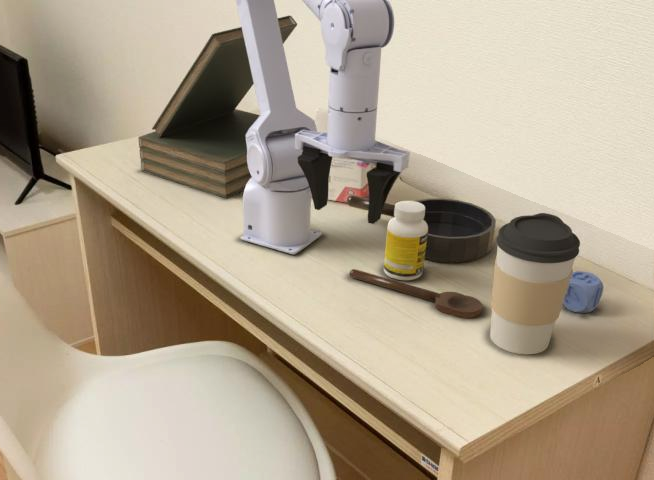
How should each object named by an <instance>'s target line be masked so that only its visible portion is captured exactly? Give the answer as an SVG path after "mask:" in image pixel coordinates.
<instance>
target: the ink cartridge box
mask: <svg viewBox="0 0 654 480" xmlns="http://www.w3.org/2000/svg"><path fill="white" fill-rule="evenodd" d="M315 125H316V129H317V132H326V133H327V131H328V109H324V108H317V109H316V110H315ZM371 169H372V164H371V163H366V162H362V161H357V160H353V159H348V158H335V157H332V162H331V167H330V173H329V185H328V201H333V202H340V203H346V204H347V198H348V197H349V196H350V195H356V196H360V197H364V198H369V187H368V180H367V172H368V171H370V170H371Z"/></svg>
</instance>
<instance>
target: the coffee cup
mask: <svg viewBox="0 0 654 480" xmlns="http://www.w3.org/2000/svg"><path fill="white" fill-rule="evenodd" d="M495 243H496V245H497V249H496V257H495V259H494V269H493V280H492V282H493V283H492V293H491V304H490V305H491V306H490V307H491V320H490V329H489V338H490V340H491V341H492V343H493V344H494V345H495V346H497V347H498V348H500V349H502V350H504V351H506V352H509V353H512V354H518V355H537V354H540V353H542V352H544V351H546V350H547V349H548V347H549V345H550V341H551V338H552V335H553V331H554V329H555V326H556V321H558V319H559V317H560V314H561V310H562V308H563V301H564V298H565V295H566V291H567V288H568V285H569V282H570V279H571V275H572V272H574V271H573V266H574V264H575V260H576V257H577V256H578V255H579V253H580V247H581V240H580V239H579V237H578V236H577V235H576V234H575V233H574V232H573V230H572V227H570V226H569V225H568V224H566V223H565V222H564V221H563V220H562V219H561V218H560V217H559V216H558V215H555V214H551V213H546V212H541V213H536V214H531V215H519V216H516V217H514V218H512V219H511V220H510V221H509V222H507V223H505V224H504V225H502V226H501V227H500V228H499V229H498V232H497V236H496V238H495Z"/></svg>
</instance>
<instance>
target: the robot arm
mask: <svg viewBox="0 0 654 480" xmlns="http://www.w3.org/2000/svg"><path fill="white" fill-rule="evenodd" d="M235 3H236V7H237V12H238V16H239V22H240V27H242V31H243V36H244V41H245V45H246V50H247V55H248V59H249V64H250V69H251V73H252V78H253V83H254V84H253V87H254V91H255V92H254V93H255V96H256V101H257V105H258V111H259V115H260V116H259V118H258V119H257V120H256V121H255V122H254V123H253V125H252V126H251V127H250V128H249V130H248V132H247V133H246V144H247V164H248V168H249V172H250V174H251V176H252V177H251V178H250V180H249V181H248V182H247V184H246V186H245V189H244V190H243V195H242V225H243V226H242V227H243V231H242V232H243V234H241V235H240V240H242V241H245V242H249V243H251V244H254V245H255V244H256V245H258V246H262V247H266V248H269V249H272V250H277V251H279V252H283V253H285V254H290V255H296V254H298V253H300V252H301V251H302V250H303V249H305V248H306V247H307V246H309V245H310V244H312V243H313V242H314V241H316V240H317V239H318V238H321V236H322V232H321V231H318V230H315V229H311V215H312V214H311V211H312V209H311V208H312V202H313V208H314V210H315V211H316V210H317V211H321V210H322V209H323V208H325V207H326V206H327V205H328V201H329V200H328V185H329V173H330V167H331V162H332V157H335V158H348V159H353V160H357V161H362V162H366V163H371V165H375V167H373V168H371V170H370V171H368V172H367V180H368V187H369V196H368V199H369V208H368V211H367V222H368V223H367V224H370V225H375V224H376V223H377V222H378V221H380V220H381V218H382V215H383V214H382V210H383V207H384V204H385V203H386V201H387V199H388V196H389V194H390V192H391V191H392V188H393V186H394V184H395V183H396V182H397V179H398V178H399V176H400V174H401V173H402V172H404V171H406V170H407V169H408V168H409V161H410V151H406V150H403V149H399V148H396V147H394V146H392V145H389V144H386V143H384V142H381V141H378V140H376V133H377V117H378V104H379V91H380V90H379V89H380V77H381V76H380V75H381V60H382V48H385V47H386V46H387V45H389V43H390V42H391V40H392V37H393V35H394V30H395V16H394V15H395V14H394V10H393V7H392V5H391V2H390V0H302V3H304V4H305V5H306V7H307V8H308V9H309V10H310V11H311V13H312V14H313V15H314V16H315V17H316V18H317V19H318V21H319V22H320V31H321V36H322V40H323V43H324V50H325V53H324V54H325V57H324V58H325V61H326V65H327V66H328V67H329V78H328V79H329V82H328V104H327V105H328V107H327V110H328V131H327V133H326V132H317V129H316V120H315V119H313V118H312V117H311V116H309V115H308V114H306V113H304V112H303V111H301V110H299V109H298V108H297V105H296V104H297V103H296V99H295V96H294V90H293V86H292V80H291V76H290V71H289V67H288V66H289V65H288V62H287V57H286V52H285V48H284V47H285V46H284V44H283V42H282V37H281V32H280V27H279V22H278V18H279V17H278V14H277V9H276V4H275V0H235ZM286 133H292V134H291V135H285V136H279V137H273V138H266V137H267V136H273V135H280V134H286Z"/></svg>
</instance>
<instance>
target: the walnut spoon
mask: <svg viewBox="0 0 654 480" xmlns="http://www.w3.org/2000/svg"><path fill="white" fill-rule="evenodd" d="M349 276H350V277H351V278H352V279H356V280H359V281H362V282H366V283H369V284H372V285H376V286H380V287H382V288H386V289H389V290H393V291H397V292H400V293H403V294H406V295H410V296H414V297H418V298H420V299H424V300H427V301H431V302H433V303H434V307H435V309H436V310H438V311H439V312H441V313H443V314H447V315H452V316H454V317H457V318H461V319H473V318H476V317H479V316H480V315H481V313H482V311H483V310H482V309H483V304H482V302H481V300H480V299H478V298H476V297H474V296H470V295H467V294H466V295H465V294H463V293H460V292H456V291H443V292H440V293H439V292H436V291H433V290H429V289H425V288H422V287H419V286H415V285H411V284H408V283H405V282H402V281H399V280H398V281H397V280H396V279H392V278H387V277H383V276H380V275H376V274H374V273H373V274H372V273H370V272H366V271H363V270H359V269H356V268H352V269H350V271H349Z"/></svg>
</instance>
